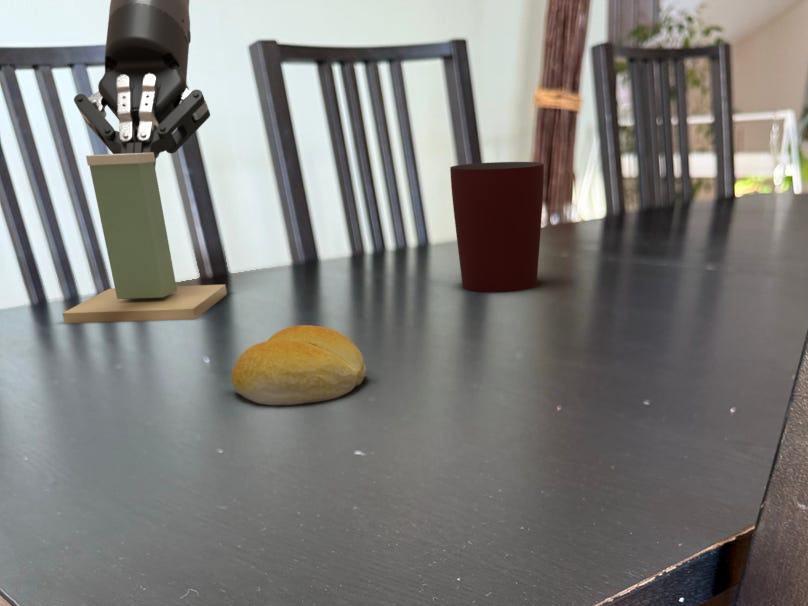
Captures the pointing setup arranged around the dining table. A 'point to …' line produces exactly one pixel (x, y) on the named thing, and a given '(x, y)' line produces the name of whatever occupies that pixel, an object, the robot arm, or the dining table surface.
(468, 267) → the mug
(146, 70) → the robot arm
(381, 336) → the dining table surface
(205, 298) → the post base
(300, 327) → the bread roll
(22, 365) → the dining table surface
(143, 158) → the post
